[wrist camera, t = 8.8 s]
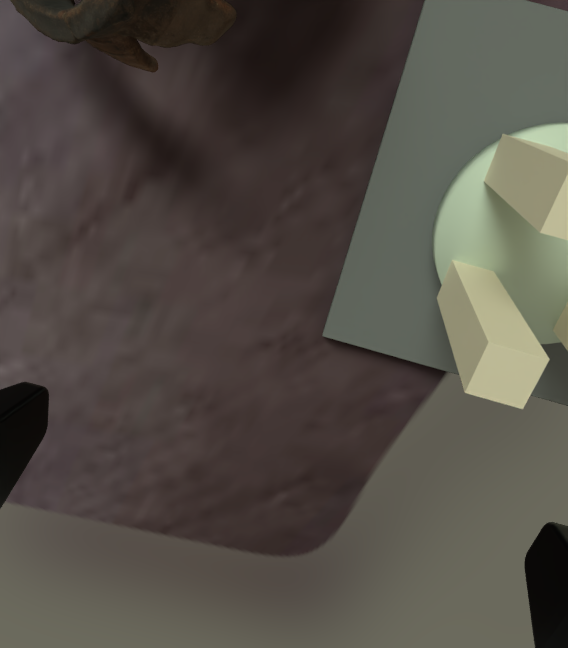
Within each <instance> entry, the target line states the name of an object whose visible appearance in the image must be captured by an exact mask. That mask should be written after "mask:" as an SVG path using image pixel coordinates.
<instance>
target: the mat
mask: <svg viewBox="0 0 568 648" xmlns="http://www.w3.org/2000/svg"><path fill="white" fill-rule="evenodd" d="M548 123H568V11H564V10H560V9H556V8H553V7H549V6H545V5H541V4H537V3H533V2H529V1H526V0H425V1H424V4H423V7H422V10H421V14H420V17H419V20H418V24H417V27H416V30H415V33H414V37H413V40H412V43H411V46H410V50H409V53H408V56H407V59H406V63H405V66H404V69H403V72H402V76H401V79H400V82H399V86H398V89H397V92H396V95H395V99H394V102H393V105H392V108H391V112H390V115H389V118H388V121H387V125H386V128H385V131H384V134H383V138H382V141H381V144H380V148H379V151H378V154H377V157H376V161H375V164H374V167H373V170H372V174H371V177H370V180H369V183H368V187H367V190H366V193H365V196H364V200H363V203H362V206H361V210H360V213H359V216H358V219H357V223H356V226H355V229H354V232H353V236H352V239H351V242H350V245H349V249H348V252H347V255H346V258H345V262H344V265H343V268H342V272H341V275H340V278H339V281H338V285H337V288H336V291H335V294H334V298H333V301H332V304H331V307H330V311H329V314H328V317H327V320H326V324H325V327H324V331H323V336H324V337H327V338H331V339H334V340H338V341H342V342H345V343H349V344H352V345H356V346H359V347H363V348H366V349H370V350H373V351H377V352H380V353H384V354H387V355H391V356H394V357H398V358H401V359H405V360H408V361H412V362H415V363H419V364H422V365H426V366H429V367H433V368H436V369H440V370H443V371H447V372H451V373H454V374H458V375H459V372H458V368H457V365H456V362H455V358H454V355H453V351H452V348H451V345H450V341H449V338H448V335H447V331H446V328H445V324H444V321H443V318H442V314H441V311H440V307H439V304H438V301H437V296H438V293H439V291H440V288H441V286H442V284H441V282H440V279H439V276H438V273H437V270H436V266H435V263H434V259H433V251H432V232H433V225H434V219H435V216H436V213H437V209H438V206H439V204H440V202H441V200H442V197H443V195H444V193H445V191H446V190H447V188H448V186H449V185H450V183H451V181H452V180H453V179H454V178H455V176H456V175H457V174H458V172H459V171H460V170H461V169H462V168H463V167H464V166H465V165H466V164H467V163H468V162H469V161H470V160H471V159H472V158H473V157H474V156H475V155H476V154H478V153H479V152H480V151H481V150H483V149H484V148H485V147H487V146H489V145H490V144H492V143H493V142H495V141H496V140H498V139H500V138H501V137H502V134H505V135H509V134H511V133H513V132H516V131H519V130H521V129H524V128H527V127H531V126H536V125H541V124H548ZM540 345H541V346H542V348H543V350H544V351H545V353H546V354H547V356H548V357H549V359H550V360H549V362H548V363H547V365H546V367H545V369H544V371H543V373H542V375H541V376H540V378H539V380H538V382H537V384H536V386H535V388H534V389H533V391H532V393H531V396H535V397H538V398H542V399H546V400H549V401H553V402H557V403H560V404H564V405H567V406H568V351H567V349H566V348H565V347H564V345H563V344H562V343H561V342H560V343H552V344H540Z"/></svg>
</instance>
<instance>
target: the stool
mask: <svg viewBox="0 0 568 648" xmlns="http://www.w3.org/2000/svg"><path fill="white" fill-rule="evenodd" d="M432 251H433V259H434V263H435V266H436V270H437V273H438V276H439V279H440V282H441V284H442V286H441V288H440V291H439V293H438V296H437V301H438V304H439V307H440V311H441V314H442V318H443V321H444V324H445V328H446V331H447V335H448V338H449V341H450V345H451V348H452V351H453V355H454V358H455V362H456V365H457V368H458V372H459V375H460V378H461V382H462V385H463V389H464V392H465V393H468V394H471V395H474V396H478V397H481V398H485V399H488V400H492V401H495V402H499V403H502V404H506V405H510V406H513V407H517V408H520V409H523V408H524V406H525V404H526V402H527V401H528V398H529V397H530V395H531V393H532V391H533V389H534V388H535V386H536V384H537V382H538V380H539V378H540V376H541V375H542V373H543V371H544V369H545V367H546V365H547V363H548V362H549V360H550V359H549V357H548V356H547V354H546V353H545V351H544V350H543V348H542V346H541V345H540V344H552V343H560V342H561V343H562V344H563V345H564V347H565V348H566V349H567V351H568V123H548V124H541V125H536V126H531V127H527V128H524V129H521V130H519V131H516V132H513V133H511V134H509V135H505V134H502V137H501V138H500V139H498V140H496V141H495V142H493V143H492V144H490V145H489V146H487V147H485V148H484V149H483V150H481V151H480V152H479V153H478V154H476V155H475V156H474V157H473V158H472V159H471V160H470V161H469V162H468V163H467V164H466V165H465V166H464V167H463V168H462V169H461V170H460V171H459V172H458V174H457V175H456V176H455V178H454V179H453V180H452V181H451V183H450V185H449V186H448V188H447V190H446V191H445V193H444V195H443V197H442V200H441V202H440V204H439V206H438V209H437V213H436V216H435V219H434V225H433V232H432Z"/></svg>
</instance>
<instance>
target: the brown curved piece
mask: <svg viewBox="0 0 568 648" xmlns="http://www.w3.org/2000/svg"><path fill="white" fill-rule="evenodd" d="M10 1H11V2H12V3H13V5H14V6H15V8H16V10H17V11H18V12H19V13H20V14H22V15H23V16H24V17H25V18H26V19H27V20H28V21H29V22H30V23H31V24H32V25H33V26H34V27H35V28H36V29H37V30H38V31H39V32H41V33H43V34H44V35H46V36H48V37H50V38H51V39H53V40H56V41H58V42H67V43H70V44H78V43H80V42H82V41H84V40H86V41H87V42H88V43H89V44H90V45H91V46H93V47H95V48H97V49H98V50H100V51H102V52H104V53H106V54H107V55H109V56H111V57H113V58H115V59H117V60H119V61H121V62H123V63H125V64H127V65H130V66H132V67H136V68H140V69H143V70H146V71H150V72H156V71H157V70H158V63H157V60H156V59H155V58H153V57H152V56H150V55H149V54H148V53H146V52H145V51H144V50H143V49H142V48H141V46H140V44H139V43H138V41H137V39H138V40H140V41H142V42H144V43H146V44H148V45H151V46H155V45H157V46H160V47H165V48H171V47H176V46H180V45H182V44H186V43H193V44H197V45H202V46H203V45H211V44H213V43H214V42H216V41H217V40H218V39H219V38H220V37H221V36H222V35H223V34H224V33H225V32H226V31H227V30H229V29H230V28H231V27H232V25H233V23H234V22H235V19H236V16H237V14H236V10H235V9H234V8H233V7H232V6H231V5H230V4H229V3H227V2H226V1H224V0H82V1H81V2H80V3H79V4H77V5H76V6H74V5H75V2H74V0H10Z"/></svg>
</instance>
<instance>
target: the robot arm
mask: <svg viewBox="0 0 568 648" xmlns="http://www.w3.org/2000/svg"><path fill="white" fill-rule="evenodd" d="M48 406H49V392H48V390H47V389H46V388H45V387H44V386H40V385H36V384H32V383H29V382H22V383H18V384H16V385H13V386H10V387H7V388H4V389H1V390H0V508H1V507H2V505H3V504H4V502H5V501H6V499H7V497H8V496H9V494H10V492H11V491H12V489H13V487H14V486H15V484H16V483H17V481H18V479H19V478H20V476H21V474H22V473H23V471H24V469H25V468H26V466H27V464H28V463H29V461H30V459H31V458H32V456H33V454H34V453H35V451H36V449H37V448H38V446H39V444H40V443H41V441H42V439H43V438H44V435H45V433H46V430H47V426H48ZM525 573H526V582H527V590H528V598H529V605H530V613H531V620H532V628H533V636H534V643H535V648H568V526H565V525H561V524H558V523H554V522H549V523H547V524H545V525H544V527H543V528H542V529H541V531H540V533H539V534H538V536H537V538H536V539H535V541H534V542H533V544H532V545H531V547H530V549H529V550H528V552H527V554H526V557H525Z"/></svg>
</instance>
